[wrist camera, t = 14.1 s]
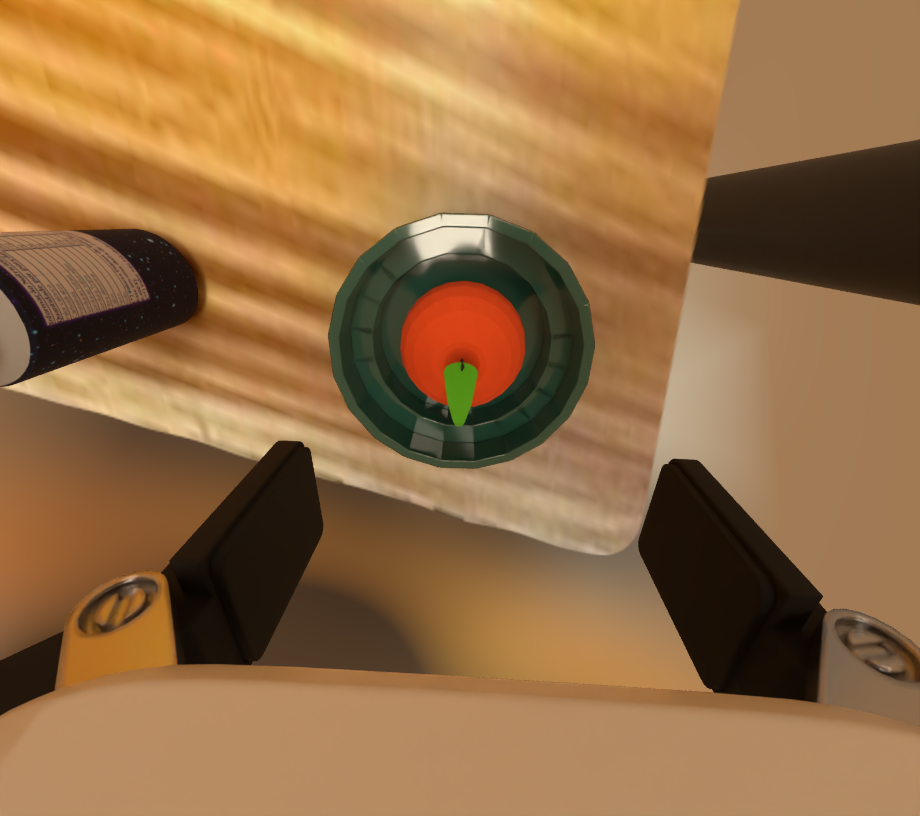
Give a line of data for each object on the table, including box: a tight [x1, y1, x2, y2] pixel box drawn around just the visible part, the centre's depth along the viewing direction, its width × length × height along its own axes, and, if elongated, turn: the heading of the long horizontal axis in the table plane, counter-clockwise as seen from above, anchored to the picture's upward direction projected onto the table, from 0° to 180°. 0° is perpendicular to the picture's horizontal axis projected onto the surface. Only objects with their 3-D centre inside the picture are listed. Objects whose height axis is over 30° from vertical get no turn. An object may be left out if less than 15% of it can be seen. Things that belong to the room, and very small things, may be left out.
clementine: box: [400, 281, 525, 427], centre depth 21 cm, size 8×7×7 cm
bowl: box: [328, 213, 595, 469], centre depth 23 cm, size 14×14×5 cm
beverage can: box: [0, 229, 198, 387], centre depth 18 cm, size 6×6×12 cm
